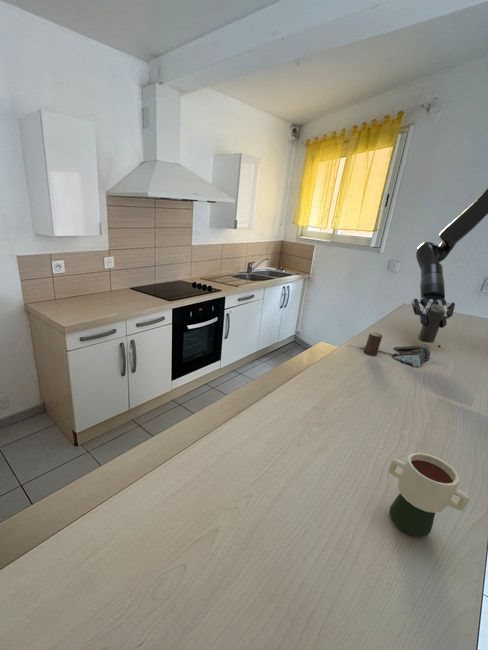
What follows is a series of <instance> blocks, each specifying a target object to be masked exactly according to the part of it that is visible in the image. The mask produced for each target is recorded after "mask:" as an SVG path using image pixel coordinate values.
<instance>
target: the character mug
mask: <svg viewBox="0 0 488 650" xmlns="http://www.w3.org/2000/svg"><path fill="white" fill-rule="evenodd" d="M397 467H399V468H401V469H402V470H401V472H399V471H397V470H396V469H397ZM387 471H388V473H389V474H390V475H391V476H394V477H395V478H397V479H398V481H397V488H398V492H399V494H398V495H397V496H396V498H395V499H394V501H393V502H392V504H391V505H390V506H389V516H390V518H391V520H392V522H393V523H394V524H395V525H396V527H397V528H398V529H400V530H401V531H402V532H404V533H406V534H407V535H410V536H414V537H417V538H422V537H427V536H428V535H429V534H430V533H431V531H432V529H433V525H434V520H435V516H436V514H437V513H441V512H443V511H444V510H445V509H446V508H447V507H448V506H450V507H452V508H453V509H455V510H457V511H460V512H462V511H464V510H465V509H466V507H467V505H468V503H469V502H470V496H469V495H468V494H467V493H466V492H463V491H462V490H459V489H458V486H459V484H460V476H459V474H458V473H457V471H456V470H455V468H454V467H452V466H451V464H449V463H447V462H446V461H444V460H443V459H441V458H439V457H438V456H435V455H432V454H430V453H429V454H428V453H424V452H414V453H413V452H412V453H411V454H410V455H408V456H407V458H406V460H405V462H403V461H402V460H400V459H397V458H392V459H391V461H390V464H389V466H388V470H387ZM453 496H456V497H458V498H459V500H458V502H457V501H454V500H453V499H452V498H453Z"/></svg>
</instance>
